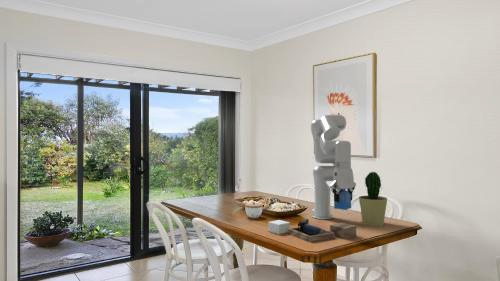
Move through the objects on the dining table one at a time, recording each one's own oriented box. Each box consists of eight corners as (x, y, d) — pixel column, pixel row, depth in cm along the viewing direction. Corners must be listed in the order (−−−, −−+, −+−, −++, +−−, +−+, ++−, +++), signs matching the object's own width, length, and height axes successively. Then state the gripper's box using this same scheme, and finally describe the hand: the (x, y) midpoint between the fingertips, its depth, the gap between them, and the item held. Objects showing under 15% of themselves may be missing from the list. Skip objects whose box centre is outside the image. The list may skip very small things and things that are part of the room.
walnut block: (330, 235, 183) (330, 225, 183) (341, 232, 189) (341, 222, 189) (345, 239, 176) (345, 228, 176) (356, 235, 182) (356, 225, 182)
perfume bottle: (339, 206, 187) (339, 183, 187) (351, 208, 183) (351, 184, 183) (334, 208, 182) (334, 184, 182) (345, 209, 178) (345, 185, 178)
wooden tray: (288, 233, 187) (288, 228, 187) (311, 229, 194) (311, 225, 194) (310, 242, 171) (310, 236, 171) (334, 237, 178) (334, 232, 178)
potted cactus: (374, 219, 218) (374, 169, 218) (393, 225, 204) (393, 171, 203) (353, 221, 212) (353, 170, 212) (371, 227, 198) (370, 172, 198)
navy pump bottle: (297, 236, 187) (317, 242, 178) (296, 222, 185) (316, 227, 177) (308, 229, 193) (327, 235, 185) (307, 216, 192) (326, 220, 183)
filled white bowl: (252, 219, 219) (252, 204, 219) (241, 216, 227) (241, 201, 227) (266, 217, 226) (266, 202, 226) (254, 214, 234) (254, 199, 234)
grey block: (268, 231, 192) (268, 222, 192) (279, 229, 197) (279, 219, 197) (278, 234, 186) (278, 224, 186) (289, 232, 191) (289, 222, 191)
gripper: (334, 166, 175) (335, 203, 175) (361, 165, 183) (361, 200, 183) (324, 166, 181) (324, 201, 181) (350, 164, 190) (350, 198, 190)
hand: (343, 200), depth 182 cm, fingers closed on perfume bottle, 8 cm apart
